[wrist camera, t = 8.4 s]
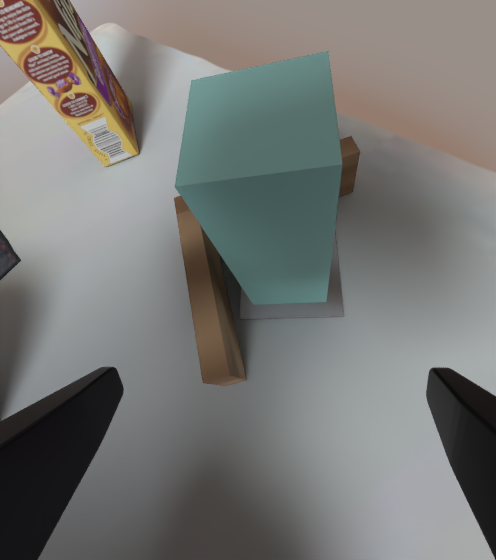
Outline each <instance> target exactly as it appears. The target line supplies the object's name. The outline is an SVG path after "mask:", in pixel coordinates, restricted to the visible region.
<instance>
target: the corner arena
mask: <svg viewBox="0 0 496 560" xmlns="http://www.w3.org/2000/svg"><path fill="white" fill-rule="evenodd" d="M340 148H341V156H342V173H341V181H340V190H339V196H342V195H345V194H348V193H351V192H353V187H354V182H355V176H356V171H357V165H358V160H359V154H360V151H359V149H358V147H357V145H356V144H355V142H354V140H353V138H352V137H351V136H350V137H347V138H344V139H341V140H340ZM174 201H175V207H176V214H177V220H178V227H179V233H180V239H181V246H182V252H183V258H184V265H185V271H186V278H187V284H188V290H189V297H190V303H191V310H192V316H193V322H194V329H195V335H196V342H197V348H198V354H199V361H200V367H201V374H202V380H203V383H207V384H215V385H223V386H226V385H230V384H233V383H237V382H241V381H244V380H246V375H245V370H244V366H243V361H242V357H241V352H240V348H239V343H238V339H237V334H236V329H235V325H234V320H233V316H232V311H231V307H230V302H229V297H228V293H227V288H226V284H225V279H224V275H223V270H222V266H221V261H220V256H219V252H218V251H217V249H216V248H215V246H214V245H213V243H212V242H211V240H210V239H209V237H208V236H207V234H206V233H205V231H204V230H203V228H202V227H201V225H200V224H199V222H198V221H197V219H196V218H195V216H194V215H193V213H192V212H191V210H190V209H189V207H188V206H187V204H186V203H185V201H184V200H183V198H182V197H181V196H178V197H176V198H174ZM313 317H344V311H343V301H342V292H341V282H340V272H339V262H338V253H337V243H336V233H334V241H333V250H332V258H331V267H330V275H329V284H328V293H327V301H326V302H314V303H287V304H261V305H253V303H252V302H251V300H250V299H249V297H248V296H247V294H246V293H245V291H244V290H243V288H242V287H241V296H240V320H242V319H277V318H313Z"/></svg>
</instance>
